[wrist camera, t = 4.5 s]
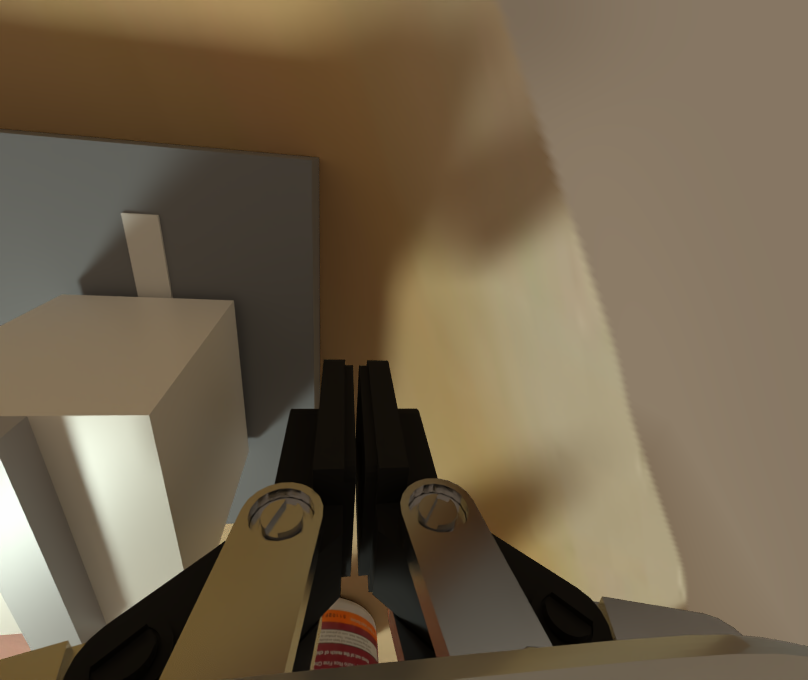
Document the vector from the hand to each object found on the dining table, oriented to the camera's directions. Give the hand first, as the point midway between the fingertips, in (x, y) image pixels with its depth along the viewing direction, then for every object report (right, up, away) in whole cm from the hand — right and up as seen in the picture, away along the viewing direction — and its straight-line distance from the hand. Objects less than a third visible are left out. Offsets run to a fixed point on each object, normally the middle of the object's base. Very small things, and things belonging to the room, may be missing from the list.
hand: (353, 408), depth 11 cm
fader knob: (-5, +1, 0) cm, 5 cm away
